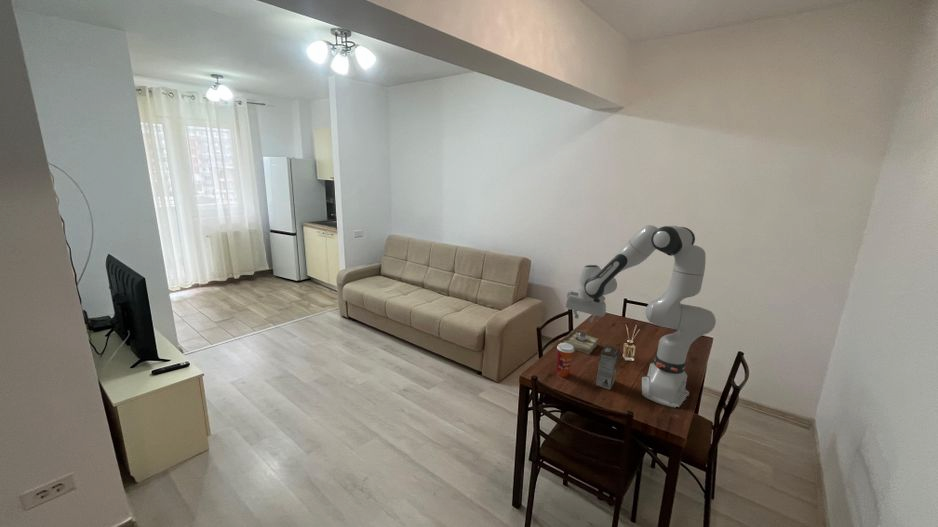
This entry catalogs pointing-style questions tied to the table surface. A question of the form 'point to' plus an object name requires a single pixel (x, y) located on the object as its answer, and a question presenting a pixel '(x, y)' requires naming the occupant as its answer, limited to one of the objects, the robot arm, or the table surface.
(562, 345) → the paper cup
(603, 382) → the coffee box
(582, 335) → the bushing
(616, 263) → the robot arm
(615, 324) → the table surface
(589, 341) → the block
